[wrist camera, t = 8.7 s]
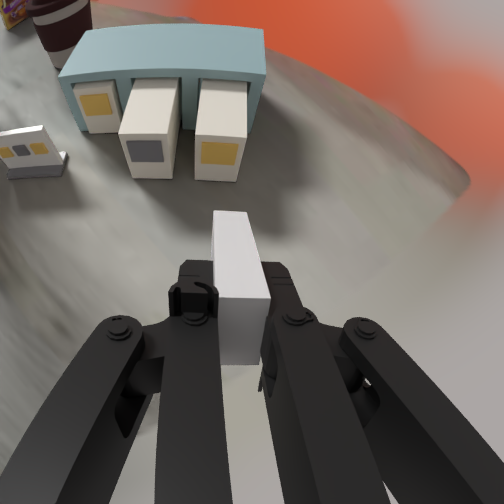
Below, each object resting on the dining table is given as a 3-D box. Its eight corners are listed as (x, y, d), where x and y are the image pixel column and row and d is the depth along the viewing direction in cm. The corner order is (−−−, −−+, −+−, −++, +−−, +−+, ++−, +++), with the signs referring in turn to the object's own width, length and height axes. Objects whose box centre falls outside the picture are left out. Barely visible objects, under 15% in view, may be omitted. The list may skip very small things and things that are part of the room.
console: (80, 131, 32) (57, 77, 23) (99, 82, 34) (86, 30, 25) (250, 133, 35) (266, 74, 26) (249, 84, 38) (263, 29, 29)
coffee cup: (104, 60, 36) (89, -20, 22) (45, 84, 33) (17, 9, 19) (99, 33, 38) (89, -37, 24) (47, 52, 35) (27, -13, 21)
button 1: (89, 135, 32) (71, 91, 24) (110, 79, 34) (100, 37, 27) (122, 133, 32) (110, 87, 25) (139, 78, 35) (134, 34, 28)
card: (8, 179, 28) (-19, 147, 21) (15, 158, 29) (-10, 125, 22) (61, 176, 30) (37, 139, 23) (67, 154, 31) (46, 116, 24)
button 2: (194, 181, 32) (194, 136, 24) (201, 111, 35) (204, 63, 27) (236, 183, 33) (246, 140, 25) (237, 113, 35) (246, 66, 28)
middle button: (132, 180, 31) (117, 136, 23) (147, 110, 34) (141, 63, 26) (172, 180, 31) (166, 135, 24) (182, 110, 34) (181, 62, 27)
